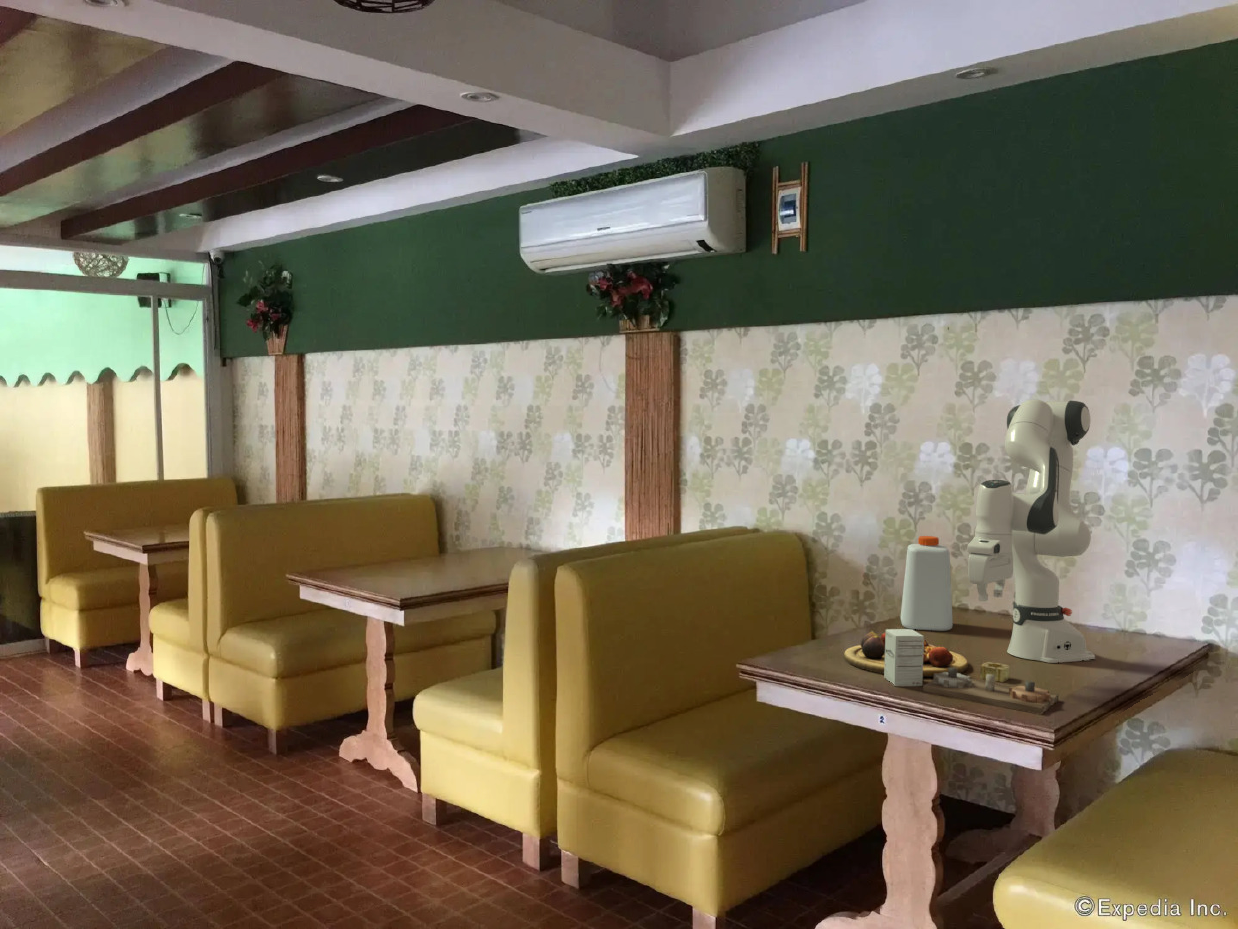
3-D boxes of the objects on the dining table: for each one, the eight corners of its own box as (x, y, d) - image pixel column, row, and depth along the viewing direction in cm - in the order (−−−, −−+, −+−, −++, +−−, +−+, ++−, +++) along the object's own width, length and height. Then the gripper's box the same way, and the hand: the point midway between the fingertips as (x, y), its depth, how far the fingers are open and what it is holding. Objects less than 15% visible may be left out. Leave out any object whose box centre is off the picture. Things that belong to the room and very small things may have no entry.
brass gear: (986, 673, 255) (987, 661, 255) (1010, 677, 251) (1011, 665, 251) (978, 678, 250) (979, 666, 250) (1003, 682, 247) (1003, 670, 246)
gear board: (944, 679, 249) (944, 660, 248) (1058, 700, 232) (1059, 679, 232) (923, 691, 238) (923, 671, 237) (1040, 714, 221) (1041, 692, 221)
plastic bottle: (948, 622, 316) (951, 535, 315) (953, 632, 302) (956, 541, 300) (899, 619, 320) (902, 533, 318) (902, 629, 305) (904, 539, 303)
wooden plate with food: (993, 677, 253) (994, 644, 253) (878, 681, 246) (879, 648, 246) (927, 649, 285) (928, 620, 284) (824, 653, 278) (825, 623, 277)
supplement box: (883, 678, 249) (884, 628, 249) (911, 678, 250) (913, 628, 249) (893, 686, 242) (895, 635, 241) (923, 686, 243) (924, 635, 242)
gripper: (996, 540, 260) (994, 593, 261) (964, 545, 245) (962, 601, 246) (1020, 543, 256) (1018, 596, 257) (989, 548, 241) (987, 605, 241)
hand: (990, 598), depth 251 cm, fingers open, 8 cm apart
